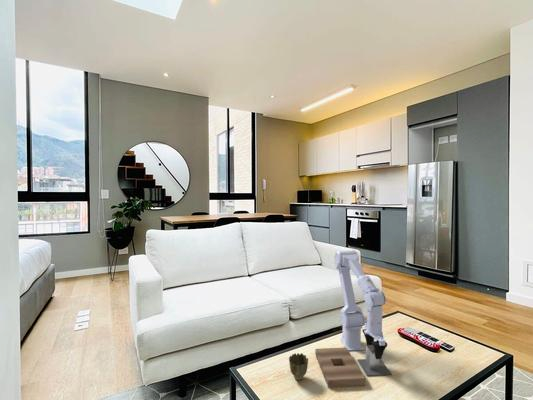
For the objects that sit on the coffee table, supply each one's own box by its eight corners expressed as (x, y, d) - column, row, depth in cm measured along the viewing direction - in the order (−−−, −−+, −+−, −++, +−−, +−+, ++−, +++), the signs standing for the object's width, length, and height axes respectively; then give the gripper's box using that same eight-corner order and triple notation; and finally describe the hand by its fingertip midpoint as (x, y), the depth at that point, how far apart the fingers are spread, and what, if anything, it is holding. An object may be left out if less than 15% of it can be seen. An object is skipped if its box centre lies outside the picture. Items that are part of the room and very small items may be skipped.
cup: (285, 374, 112) (285, 355, 112) (302, 370, 115) (302, 351, 115) (294, 387, 105) (294, 366, 105) (311, 382, 108) (311, 361, 108)
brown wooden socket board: (315, 355, 125) (315, 348, 125) (346, 353, 126) (346, 347, 126) (328, 387, 105) (328, 380, 105) (364, 385, 106) (365, 378, 106)
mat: (357, 360, 121) (357, 359, 121) (380, 359, 122) (380, 358, 122) (367, 376, 111) (367, 375, 111) (391, 375, 112) (391, 373, 112)
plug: (365, 363, 118) (365, 345, 118) (374, 363, 118) (375, 344, 118) (369, 369, 114) (370, 350, 114) (379, 369, 114) (379, 350, 114)
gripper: (358, 312, 122) (357, 343, 123) (372, 330, 108) (372, 364, 108) (373, 312, 123) (373, 342, 123) (390, 329, 108) (390, 363, 109)
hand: (374, 352), depth 116 cm, fingers open, 7 cm apart
